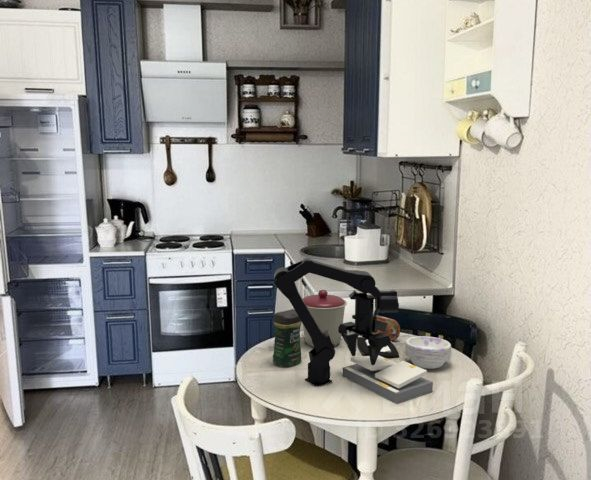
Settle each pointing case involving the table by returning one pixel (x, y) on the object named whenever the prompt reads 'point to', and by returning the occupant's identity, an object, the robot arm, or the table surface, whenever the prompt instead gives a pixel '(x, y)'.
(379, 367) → the rocker left
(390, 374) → the rocker right
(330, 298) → the canister
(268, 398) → the table surface
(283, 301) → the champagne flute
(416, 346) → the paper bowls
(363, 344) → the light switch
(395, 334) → the tin
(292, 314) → the coffee jar
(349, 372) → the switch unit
